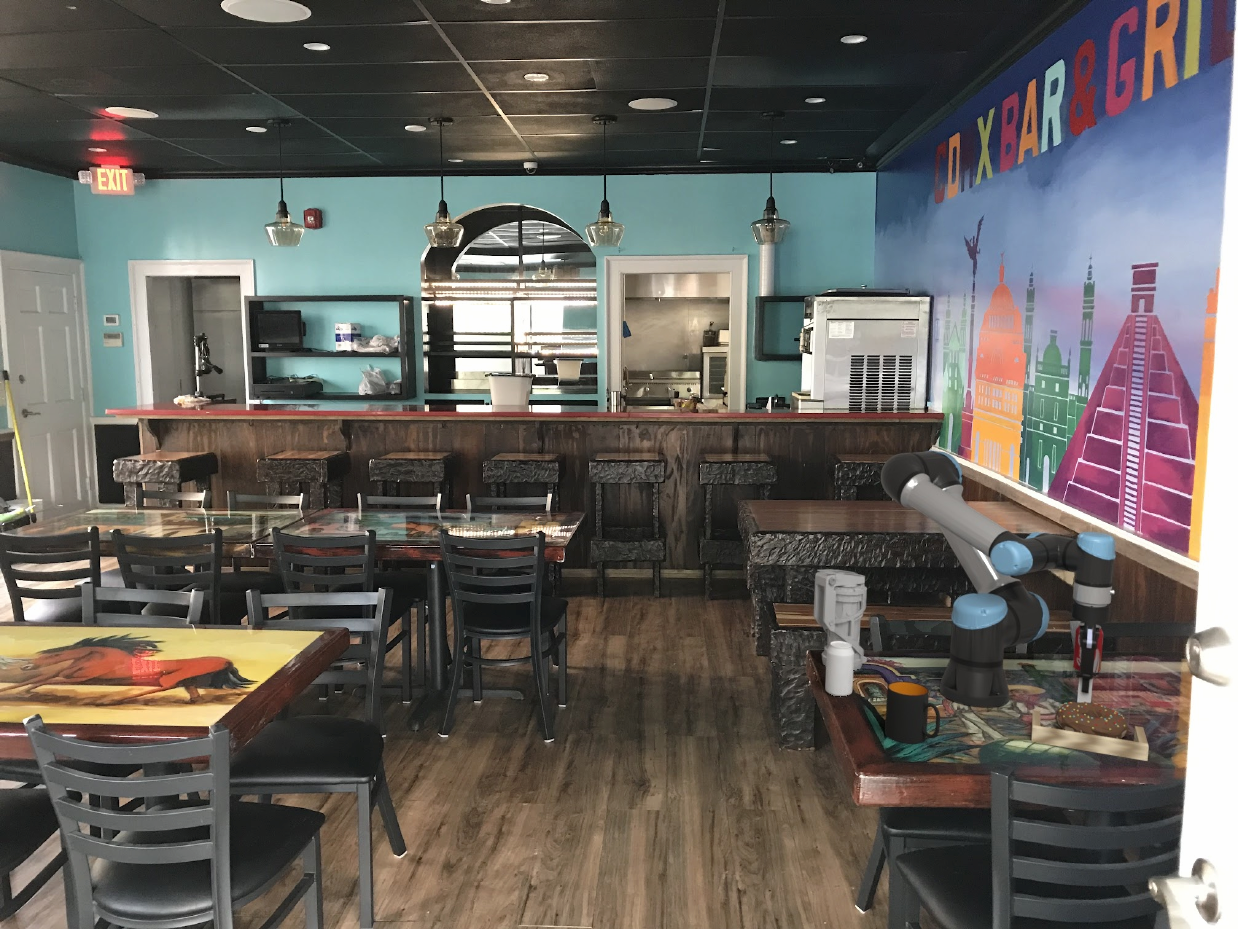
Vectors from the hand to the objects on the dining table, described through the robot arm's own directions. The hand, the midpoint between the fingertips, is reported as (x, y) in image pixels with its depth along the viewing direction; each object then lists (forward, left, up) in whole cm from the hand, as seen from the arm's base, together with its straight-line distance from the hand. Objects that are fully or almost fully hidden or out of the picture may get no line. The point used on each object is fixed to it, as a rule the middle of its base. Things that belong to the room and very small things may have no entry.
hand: (1083, 704), depth 208 cm
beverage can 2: (+2, +30, -2) cm, 30 cm away
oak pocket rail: (0, -18, -2) cm, 18 cm away
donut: (+1, -12, -2) cm, 13 cm away
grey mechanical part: (-56, +6, -2) cm, 56 cm away
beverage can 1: (-52, -14, -2) cm, 54 cm away
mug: (-33, -33, -2) cm, 47 cm away
